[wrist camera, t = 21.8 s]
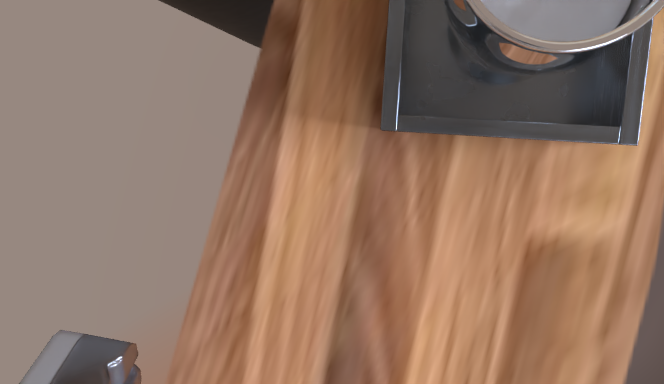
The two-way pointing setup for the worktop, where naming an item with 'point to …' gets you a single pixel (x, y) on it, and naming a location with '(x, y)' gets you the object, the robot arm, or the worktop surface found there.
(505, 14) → the metal tumbler
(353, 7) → the worktop surface
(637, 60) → the dark gray square tray
